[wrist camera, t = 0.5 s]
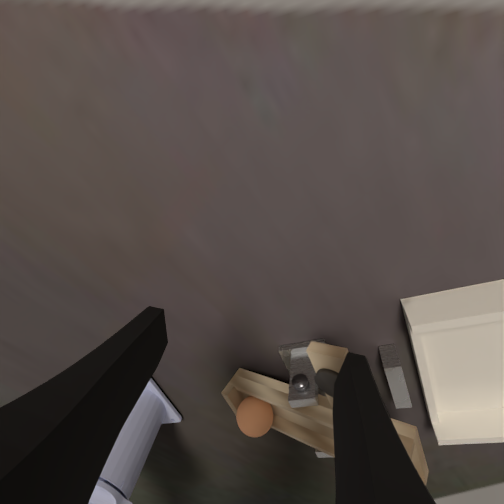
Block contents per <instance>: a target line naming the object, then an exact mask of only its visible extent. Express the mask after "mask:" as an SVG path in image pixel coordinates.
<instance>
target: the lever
mask: <svg viewBox="0 0 504 504" xmlns="http://www.w3.org/2000/svg"><path fill="white" fill-rule="evenodd" d="M306 352H307V354H308V356H309V358H310V361H311V363H312V365H313V367H314V370H315V372H316V375H315V377H314V380H315V383H316V384H317V386H318V387H319V388H320V389H321V390H322V391H323V392H325V394H326V396H323V395H320V394H318V405H317V406H307V407H296V408H291V406H290V404H289V402H288V395H289V384H287V383H284V382H281V381H278V380H275V379H272V378H269V377H266V376H263V375H260V374H257V373H254V372H251V371H248V370H245V369H242V368H239V369H238V370H237V372H236V373H235V375H234V376H233V377H232V379H231V380H230V382H229V383H228V384H227V386H226V387H225V388H224V390H223V391H222V393H221V394H222V395H223V397H224V398H225V400H226V401H227V403H228V404H229V406H230V407H231V409H232V410H233V412H234V413H235V415H237V409H238V407H239V405H240V403H241V402H242V401H243V400H244V399H245V398H247V397H249V396H253V397H256V398H258V399H260V400H263V401H265V402H268V403H269V404H270V405H271V407H272V410H273V423H272V425H271V428H273V429H275V430H277V431H279V432H281V433H283V434H285V435H288V436H290V437H292V438H294V439H296V440H298V441H300V442H302V443H305V444H307V445H309V446H311V447H313V448H315V449H317V450H319V451H322V452H324V453H326V454H328V455H330V456H332V457H334V458H335V455H334V434H333V395H334V383H335V381H336V378H337V376H338V374H339V371H340V369H341V367H342V364H343V362H344V360H345V357H346V355H347V353H348V349H347V348H343V347H338V346H333V345H328V344H324V343H319V342H314V341H311V343H310V344H309V346H308V348H307V350H306ZM391 420H392V422H393V425H394V427H395V429H396V431H397V433H398V435H399V437H400V439H401V441H402V443H403V445H404V447H405V449H406V451H407V453H408V455H409V457H410V459H411V461H412V463H413V464H414V466H415V468H416V470H417V472H418V474H419V475H420V477H421V479H422V481H423V482H424V484H425V486H426V482H427V477H428V472H429V471H428V467H427V463H426V460H425V456H424V452H423V449H422V445H421V442H420V438H419V434H418V431H417V427H416V426H413V425H410V424H407V423H404V422H401V421H398V420H395V419H392V418H391Z"/></svg>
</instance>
